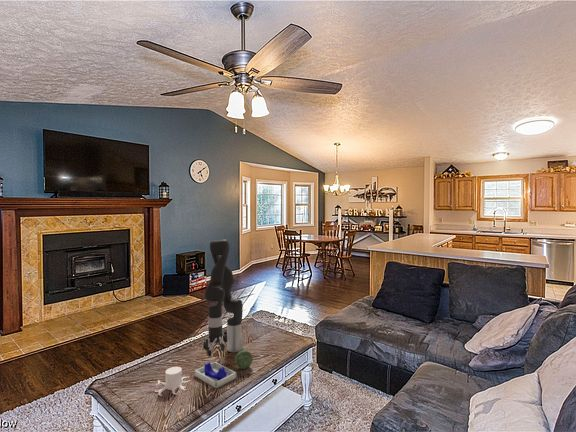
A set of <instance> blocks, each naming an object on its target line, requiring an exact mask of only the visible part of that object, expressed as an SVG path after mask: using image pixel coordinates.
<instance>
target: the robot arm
mask: <svg viewBox="0 0 576 432" xmlns="http://www.w3.org/2000/svg"><path fill="white" fill-rule="evenodd" d="M209 249H210V250H209V251H210V254H211V257H212V260H213V263H214V266H213V268H212V269H211V273H210V279H209V283H208V285H207V288H206V289H205V292H204V299H205V300H206V301H207V302H217V303H215V304H211V305H210V306H208V321H207V322H208V324H207V325H208V330H207V331H208V337H204V338H203V347H202V348H203V350H204V351H206V355H207V356H208V358H211V357H212V348H213V347H214V345H215V344H217V343H218V344H219V343H220V351H221V352H223V351H225V346H227V347H226V348H227V352H228V353H229V352H230V353H238V352H239V351H241V350H243V348H244V347H243V346H244V344H243V343H244V341H243V340H244V339H243V338H244V335H243V333H242V321H243V309H244V307H243V305H244V304H243V301H242V299H238V298H233V297H232V291H231V290H232V288H233V286H234V282H235V278H234V274H233V271H232V269H231V268H230V267H229V266H228V265H227V261H228V257H229V253H230V244H229V241H228V240H227V239H219V240H217V239H216V240H211V242H210V243H209ZM222 308H224V310H225V312H226V313H229V314H233V315H232V316H231V317H229V318H228V319H226V329H227V330H226V331H225V330H224V329H223V315H222V314H223V312H222V311H223V309H222ZM225 344H226V345H225Z"/></svg>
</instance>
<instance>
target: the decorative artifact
mask: <svg viewBox="0 0 576 432" xmlns="http://www.w3.org/2000/svg"><path fill="white" fill-rule="evenodd" d="M253 358H254V357H253V354H252V353H251V352H250V350H248V349H241V350H240V351H239V352H236V355H235V357H234V361H235V365H236V366H237V368H239V369H241V370H244V369H248V368H249V367H250V366H251V365H252V363H253V361H254V360H253Z"/></svg>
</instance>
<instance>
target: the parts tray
mask: <svg viewBox="0 0 576 432" xmlns="http://www.w3.org/2000/svg"><path fill="white" fill-rule="evenodd" d="M210 363H211V367H212V369H213V371H214V372H216V373H217V372H218V371H219V369H220V368H221V367H225V371H226V372H227V377H225V378H223V379H221V380H217V379H214V378H211V377H209V376H206V375H205V365H203V366H202V367H199V368H196V369H195V370H194V377H196V378H198V379H200V380H201V381H203V382H204V383H206V384H208V385H209V386H210V387H212V388H214V389H218V388H220V387H222V386H225V385H226V384H229V383H230V382H232V381H234V380H236V379H237V377H238V376H237V375H238V374H237V372H236V371H234V370H232V369H230V368H229V367H226V366H224V365H222V364H220V363H219V362H216V361H213V362H210Z"/></svg>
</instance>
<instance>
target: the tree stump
mask: <svg viewBox="0 0 576 432" xmlns="http://www.w3.org/2000/svg"><path fill="white" fill-rule="evenodd" d="M182 368H183V367H180V366H172V367H169V368H167V369H166V370H165V371H164V373H165V382H164V381H160V379H158V380H157V383H156V384H155V386H157V385H160V384H161V385H163V387H162V388H161V389H160V388H159V390H154V392H155V393H158V396H160V397H162V396H163V394H162V393H163V392H164V391H165V390H169V391H171V392H172V394H173V395H179V393H178V392H177V393H176V390H177V389H180V390H182V391H187V389H185V388H186V386H183V384H185V383H189V382H190V381H191V379H189V380H186V381H185V380H184V379H186V378H190V376H183V375H182V374H183V369H182Z"/></svg>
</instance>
